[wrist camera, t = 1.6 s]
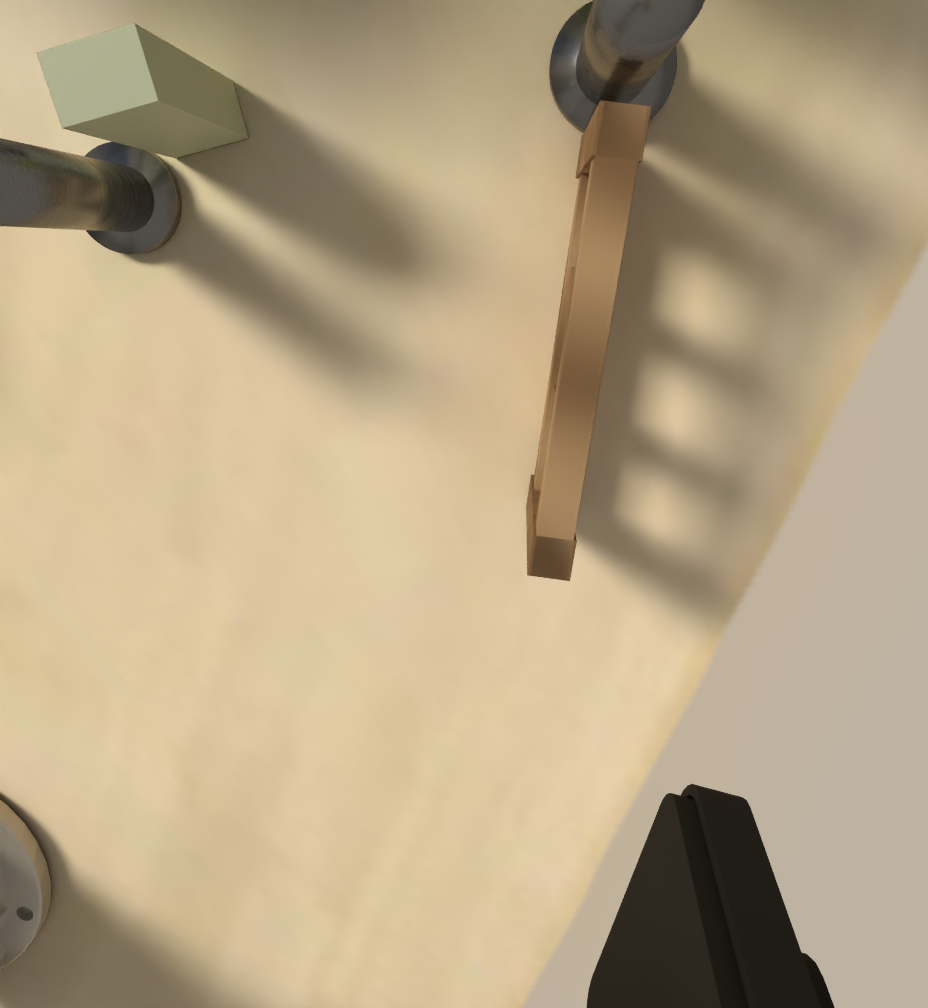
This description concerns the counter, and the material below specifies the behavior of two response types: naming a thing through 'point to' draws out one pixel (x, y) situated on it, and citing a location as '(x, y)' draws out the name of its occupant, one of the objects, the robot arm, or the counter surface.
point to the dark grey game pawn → (91, 194)
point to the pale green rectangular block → (141, 93)
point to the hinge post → (618, 55)
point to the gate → (582, 331)
